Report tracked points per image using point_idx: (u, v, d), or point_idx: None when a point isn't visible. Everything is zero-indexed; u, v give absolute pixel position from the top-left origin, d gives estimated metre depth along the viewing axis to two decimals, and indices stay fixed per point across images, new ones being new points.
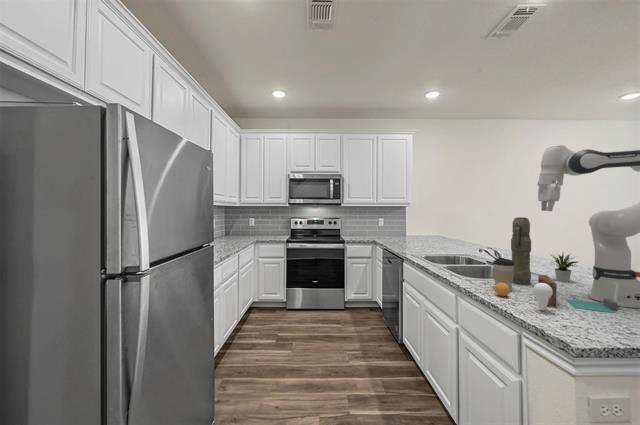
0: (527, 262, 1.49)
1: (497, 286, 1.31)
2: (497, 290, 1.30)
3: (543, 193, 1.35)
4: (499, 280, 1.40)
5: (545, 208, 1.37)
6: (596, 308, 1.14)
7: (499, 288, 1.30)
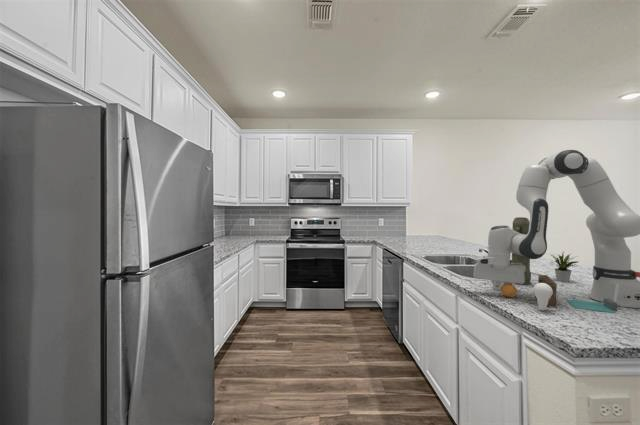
0: (527, 262, 1.49)
1: (506, 285, 1.29)
2: (504, 289, 1.29)
3: (495, 273, 1.31)
4: None
5: None
6: (596, 308, 1.14)
7: (508, 288, 1.28)
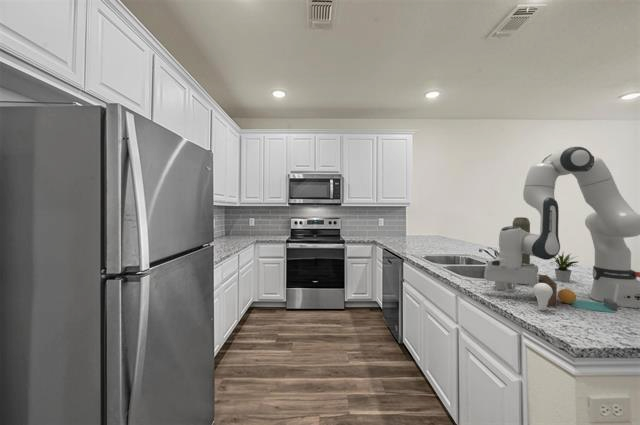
0: (527, 262, 1.49)
1: (567, 291, 1.20)
2: (563, 294, 1.20)
3: (507, 274, 1.29)
4: None
5: None
6: (596, 308, 1.14)
7: (568, 294, 1.19)
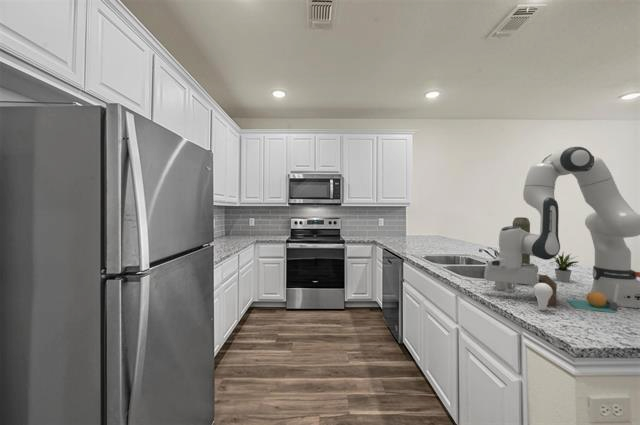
0: (527, 262, 1.49)
1: (598, 306, 1.15)
2: (603, 304, 1.14)
3: (507, 274, 1.29)
4: None
5: None
6: (596, 308, 1.14)
7: (598, 305, 1.15)
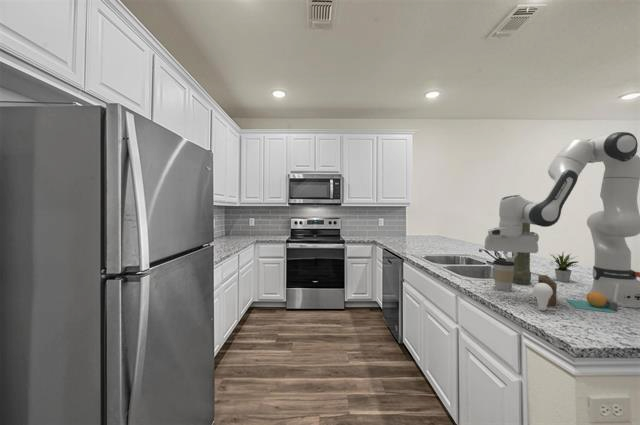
0: (527, 262, 1.49)
1: (598, 306, 1.15)
2: (603, 304, 1.14)
3: (507, 244, 1.28)
4: (499, 280, 1.40)
5: None
6: (596, 308, 1.14)
7: (598, 305, 1.15)
